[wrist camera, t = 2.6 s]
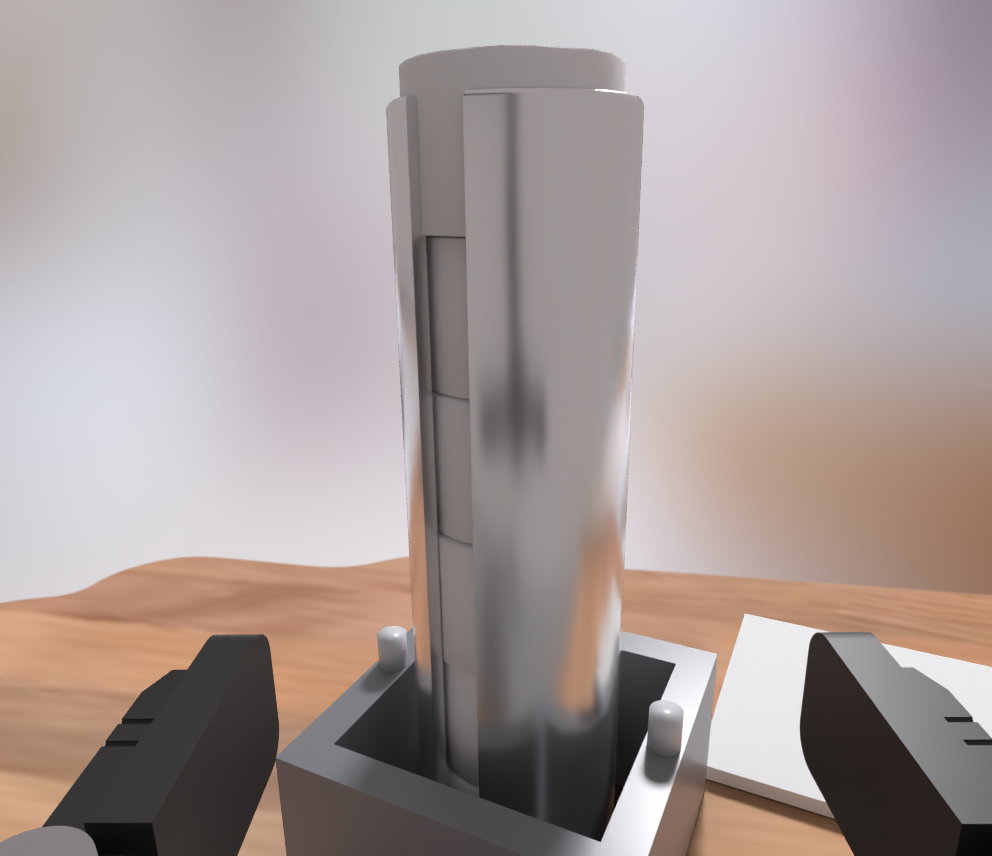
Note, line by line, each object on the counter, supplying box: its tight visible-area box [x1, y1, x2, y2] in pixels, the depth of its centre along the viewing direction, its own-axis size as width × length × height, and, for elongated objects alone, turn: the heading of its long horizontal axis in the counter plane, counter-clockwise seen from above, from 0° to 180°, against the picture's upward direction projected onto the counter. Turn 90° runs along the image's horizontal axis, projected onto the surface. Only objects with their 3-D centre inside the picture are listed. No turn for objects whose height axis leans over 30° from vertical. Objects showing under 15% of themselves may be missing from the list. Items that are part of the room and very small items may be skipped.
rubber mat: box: [706, 614, 992, 819], centre depth 32 cm, size 12×12×1 cm
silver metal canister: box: [386, 45, 644, 842], centre depth 23 cm, size 6×6×25 cm
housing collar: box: [276, 626, 717, 856], centre depth 25 cm, size 11×11×7 cm
